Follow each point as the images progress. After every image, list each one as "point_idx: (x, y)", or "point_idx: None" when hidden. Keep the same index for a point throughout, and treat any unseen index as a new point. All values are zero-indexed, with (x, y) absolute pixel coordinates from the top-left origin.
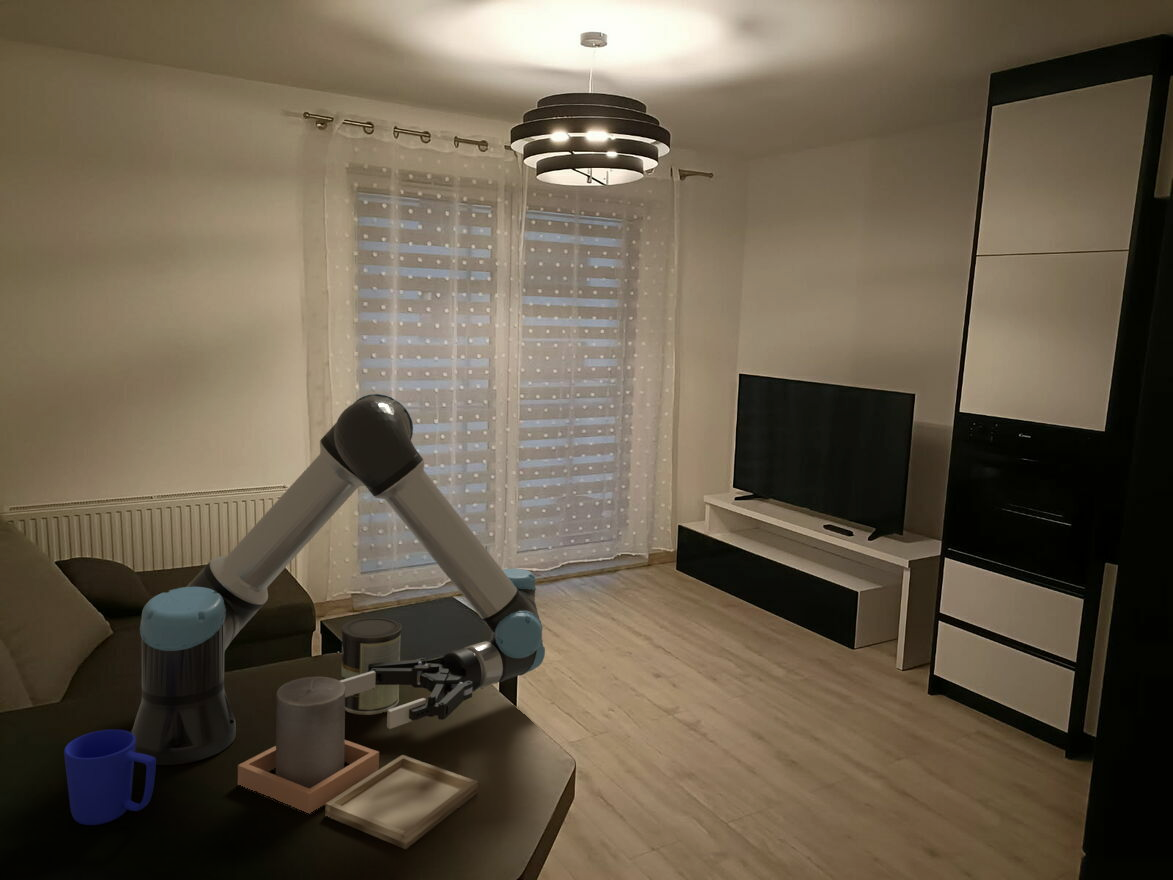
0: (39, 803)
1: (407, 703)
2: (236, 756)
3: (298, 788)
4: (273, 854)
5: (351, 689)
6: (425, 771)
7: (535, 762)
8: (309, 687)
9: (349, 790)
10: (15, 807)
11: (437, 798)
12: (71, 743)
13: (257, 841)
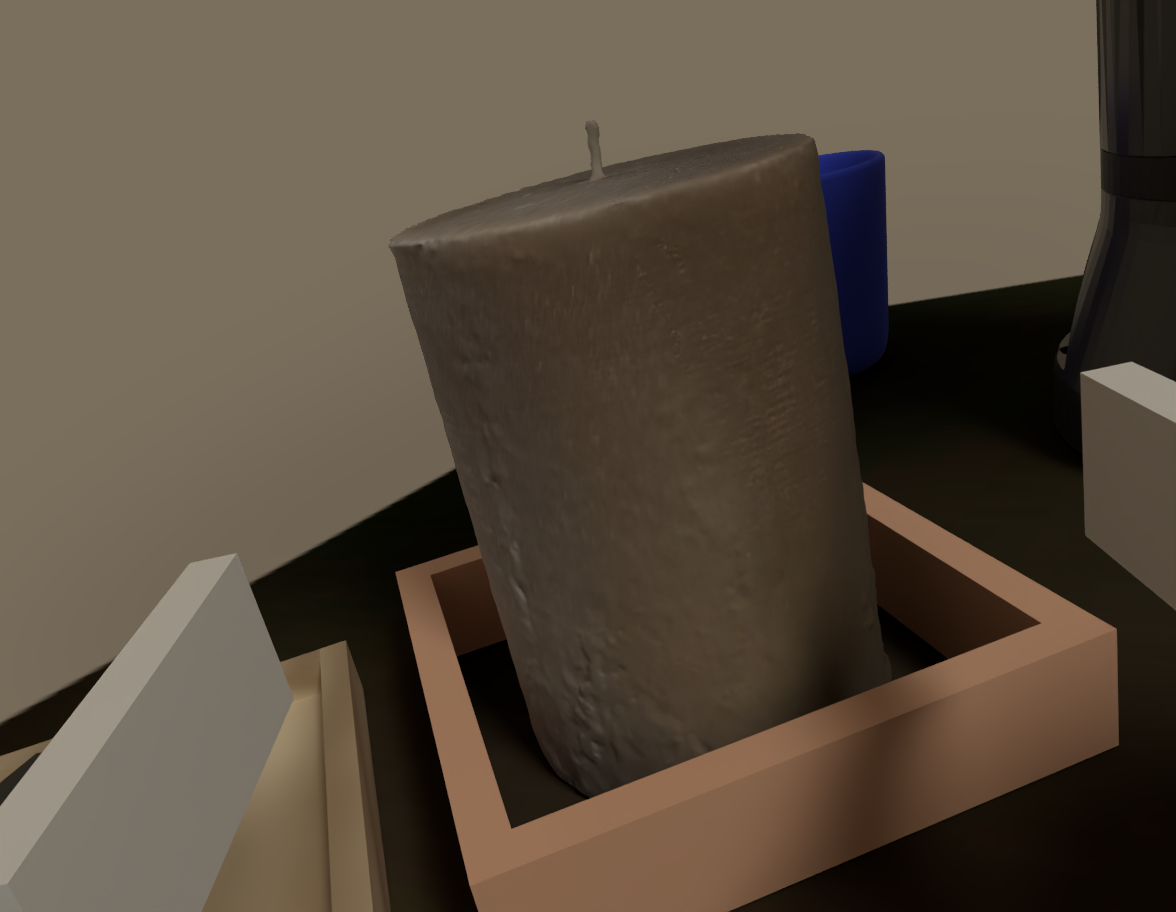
0: (940, 313)
1: (138, 690)
2: (1079, 516)
3: (466, 552)
4: (330, 573)
5: (1159, 534)
6: None
7: None
8: (627, 171)
9: (338, 719)
10: (940, 300)
11: None
12: (834, 156)
13: (424, 552)
